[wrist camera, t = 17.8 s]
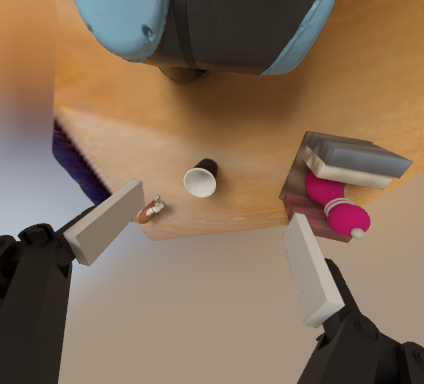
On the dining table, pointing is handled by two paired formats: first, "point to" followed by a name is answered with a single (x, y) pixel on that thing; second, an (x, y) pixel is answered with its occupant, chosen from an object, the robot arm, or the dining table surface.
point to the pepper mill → (337, 207)
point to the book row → (336, 174)
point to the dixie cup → (201, 178)
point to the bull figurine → (150, 211)
